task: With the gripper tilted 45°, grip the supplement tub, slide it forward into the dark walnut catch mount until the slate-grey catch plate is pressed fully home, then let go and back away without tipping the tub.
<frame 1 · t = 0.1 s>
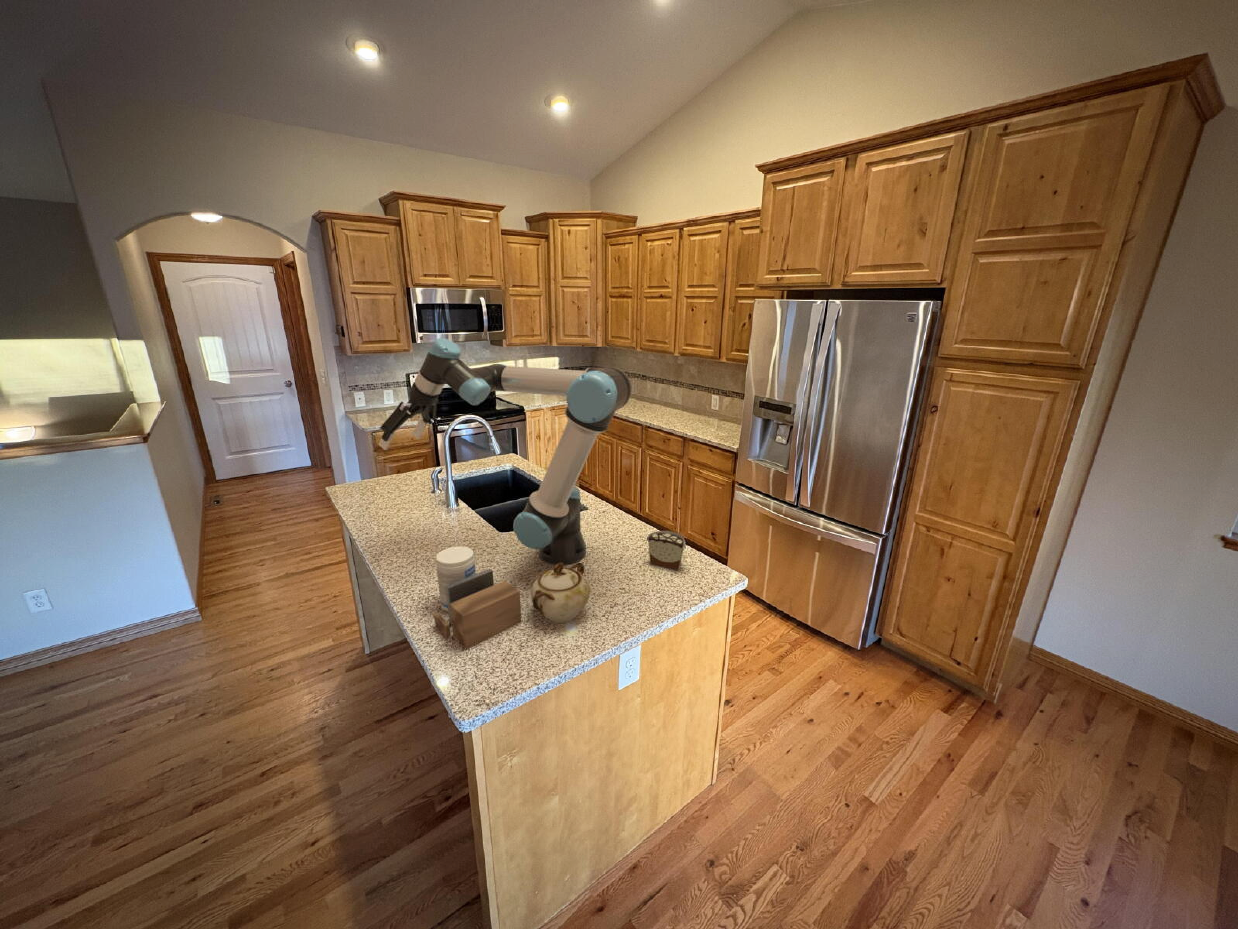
hand: (399, 441, 147), 36 cm above the countertop, tool tilted 35°, fingers open, 13 cm apart
supplement tub: (460, 604, 129), on the countertop
catch mount: (478, 620, 122), on the countertop
catch plate: (470, 594, 122), point 6 cm above the countertop, slide at 0.0 cm
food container: (667, 564, 150), on the countertop
sugar bowl: (561, 614, 125), on the countertop
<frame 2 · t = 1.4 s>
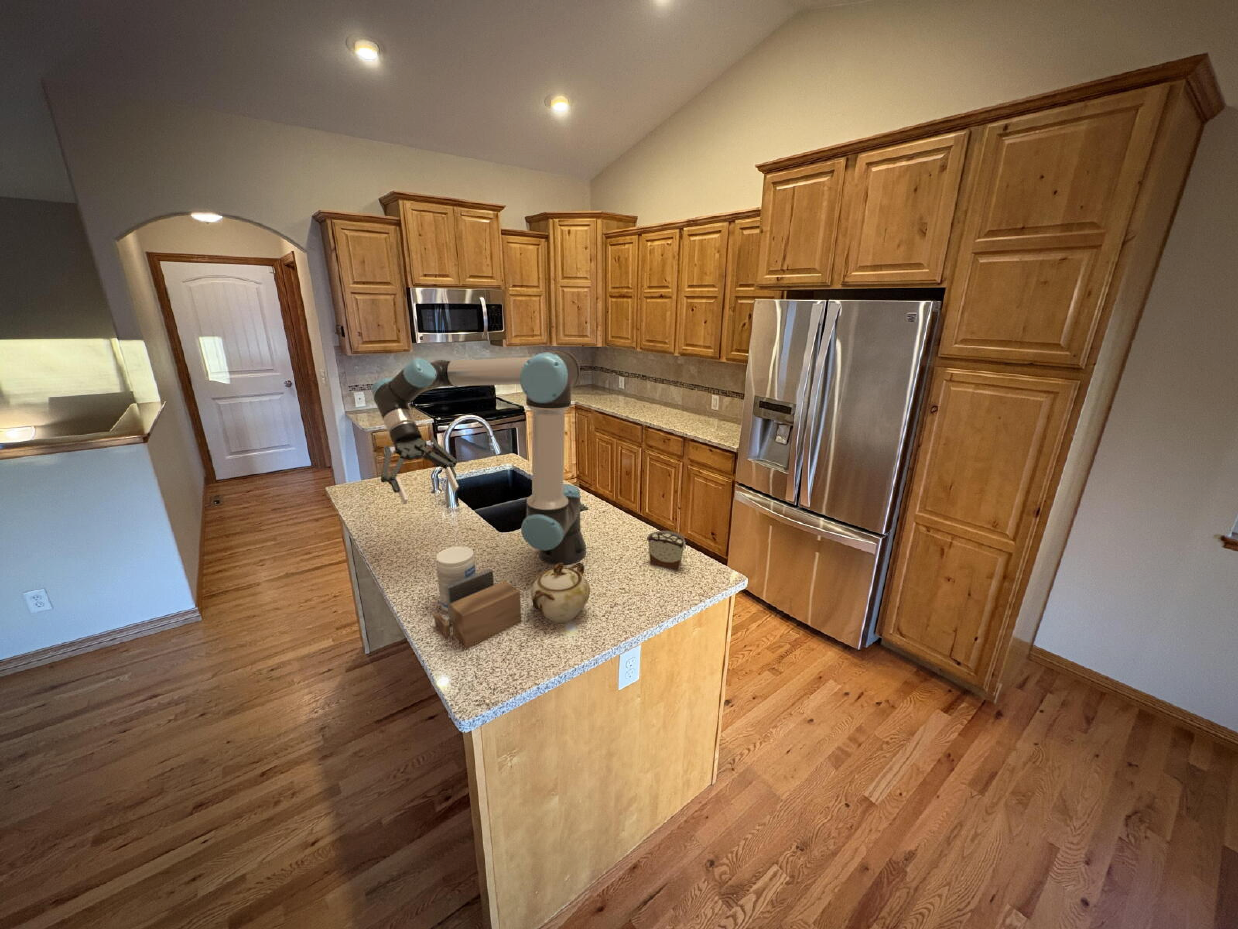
hand: (431, 495, 127), 28 cm above the countertop, tool tilted 45°, fingers open, 13 cm apart
nothing on the countertop moved.
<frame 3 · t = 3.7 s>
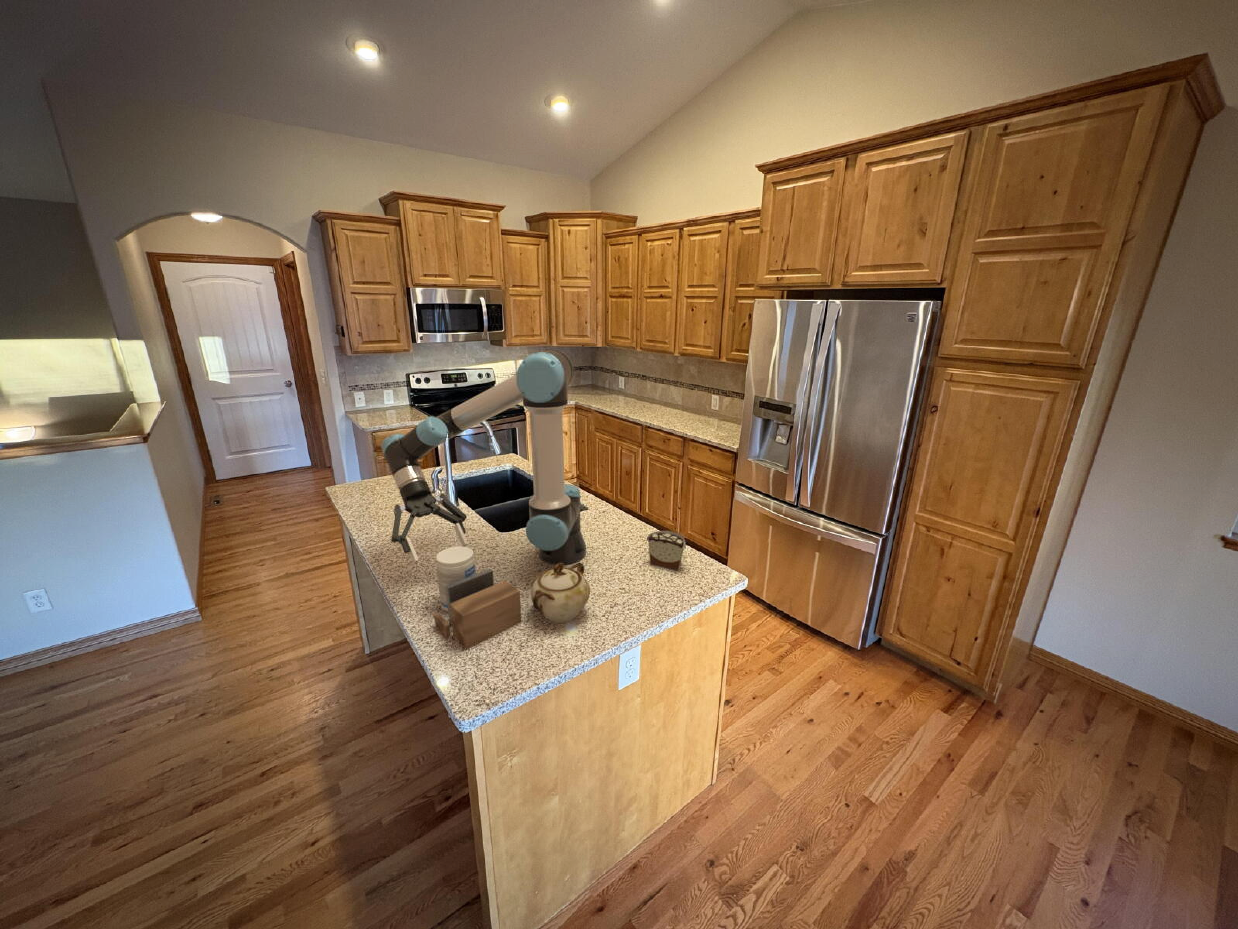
hand: (441, 553, 129), 13 cm above the countertop, tool tilted 45°, fingers open, 13 cm apart
nothing on the countertop moved.
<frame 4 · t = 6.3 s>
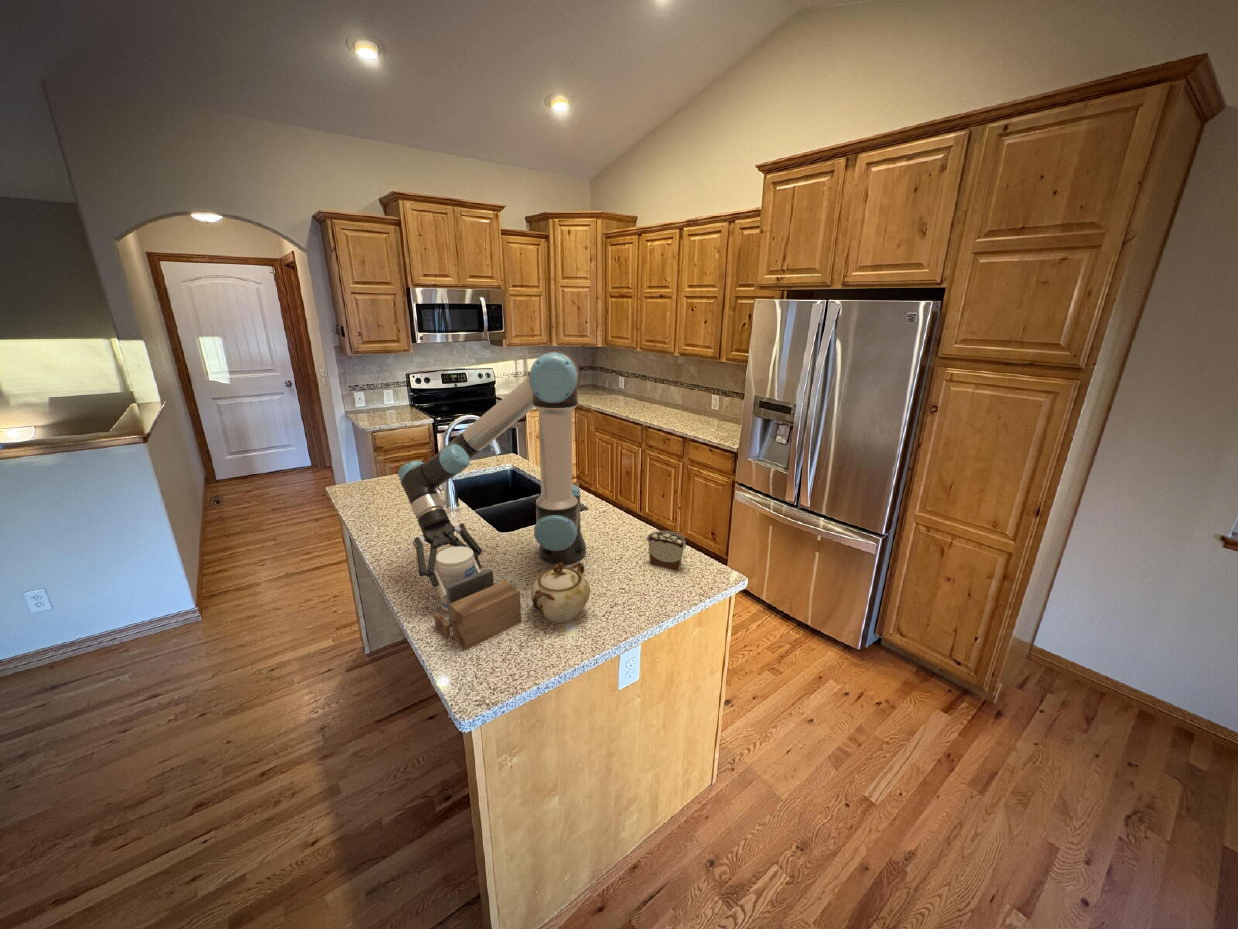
hand: (463, 589, 125), 6 cm above the countertop, tool tilted 45°, fingers closed on supplement tub, 9 cm apart
supplement tub: (460, 604, 129), on the countertop, touching gripper
everything else where it was.
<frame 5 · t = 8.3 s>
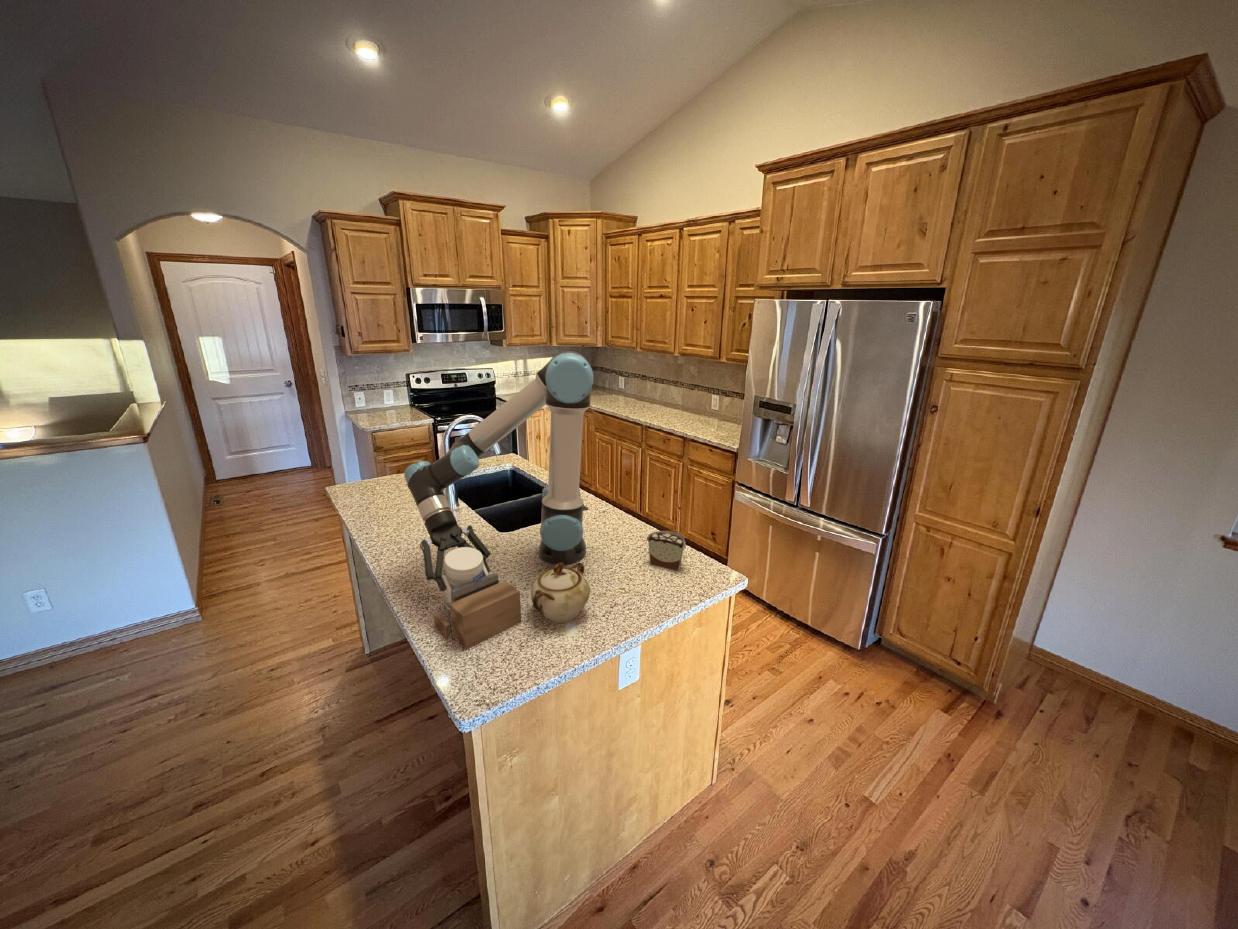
hand: (471, 593, 122), 7 cm above the countertop, tool tilted 45°, fingers closed on supplement tub, 9 cm apart
supplement tub: (463, 602, 127), point 1 cm above the countertop, touching catch plate, gripper
catch plate: (475, 599, 120), point 6 cm above the countertop, slide at 2.6 cm, touching supplement tub
everything else where it was.
when the fingers open (7 cm above the countertop, at t = 9.4 s): supplement tub drops 1 cm, on the countertop.
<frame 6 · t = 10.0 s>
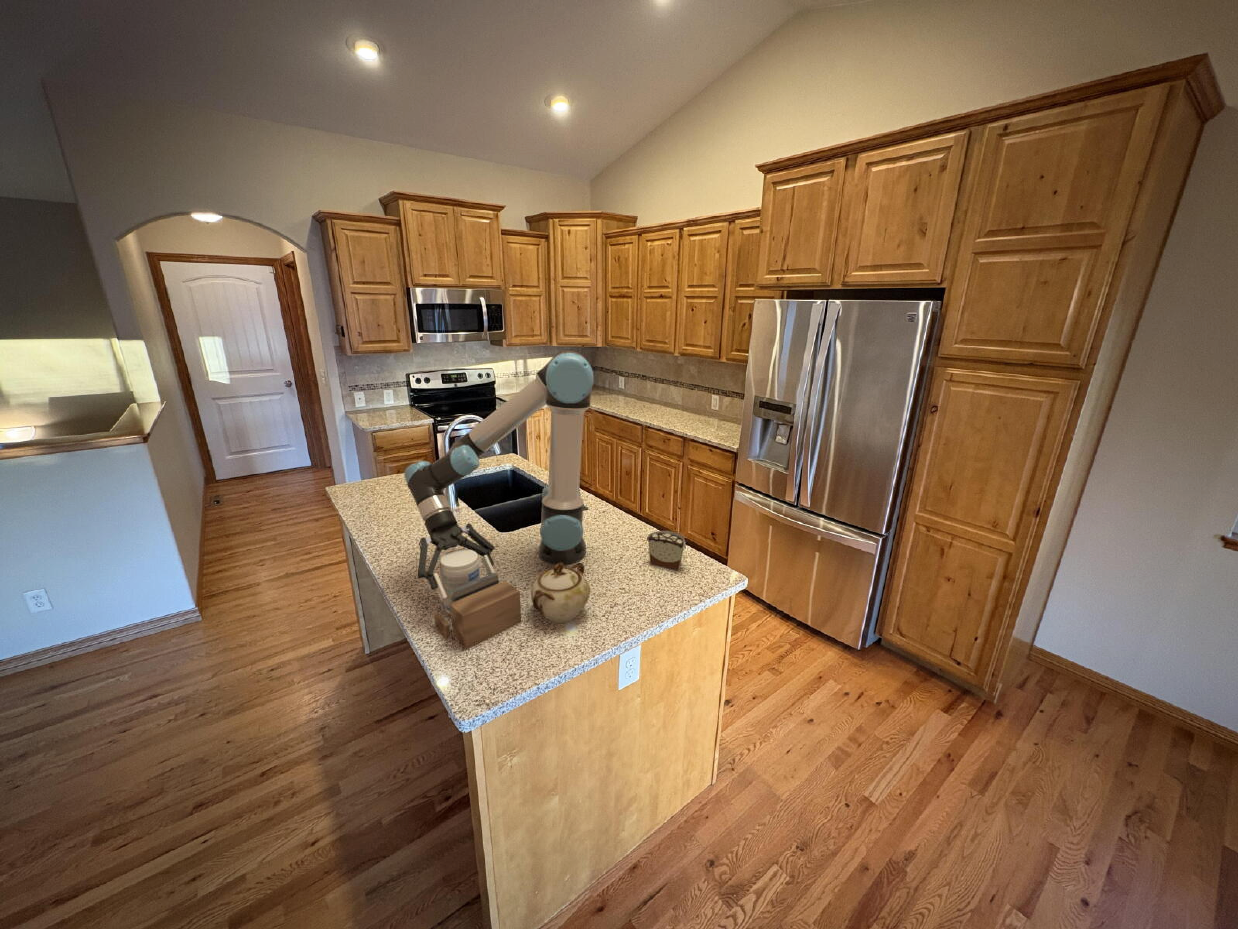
hand: (470, 588, 122), 8 cm above the countertop, tool tilted 45°, fingers open, 13 cm apart
supplement tub: (463, 607, 127), on the countertop
catch plate: (476, 599, 120), point 6 cm above the countertop, slide at 2.6 cm
everything else where it was.
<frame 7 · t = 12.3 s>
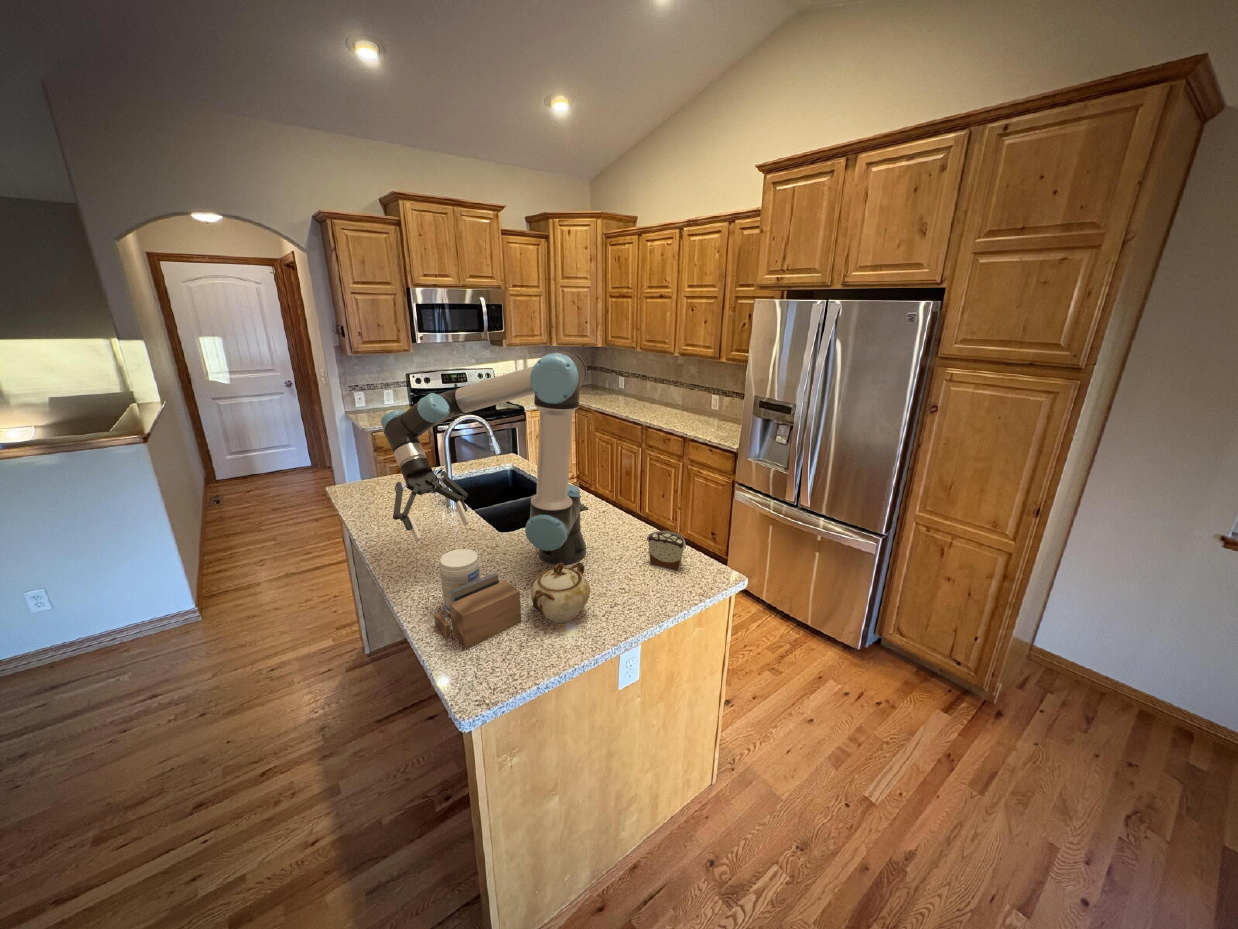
hand: (443, 531, 128), 18 cm above the countertop, tool tilted 40°, fingers open, 13 cm apart
nothing on the countertop moved.
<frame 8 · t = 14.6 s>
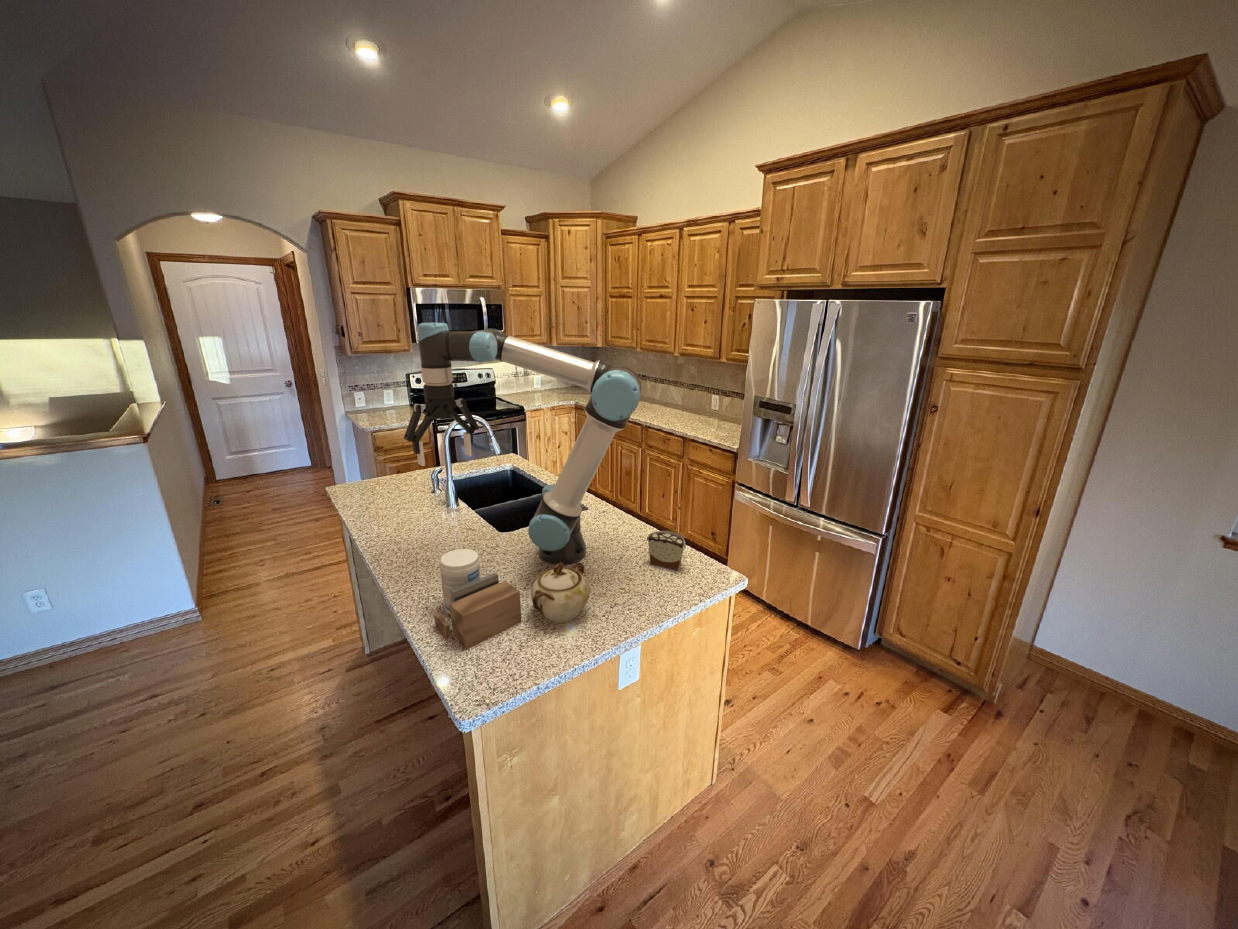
hand: (445, 459, 134), 35 cm above the countertop, tool pointing down, fingers open, 13 cm apart
nothing on the countertop moved.
at the end: catch plate slide at 2.6 cm; supplement tub 1.9 cm from the target spot on the catch mount, point 0.0 cm above the catch mount's base; supplement tub tilted 1° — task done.
